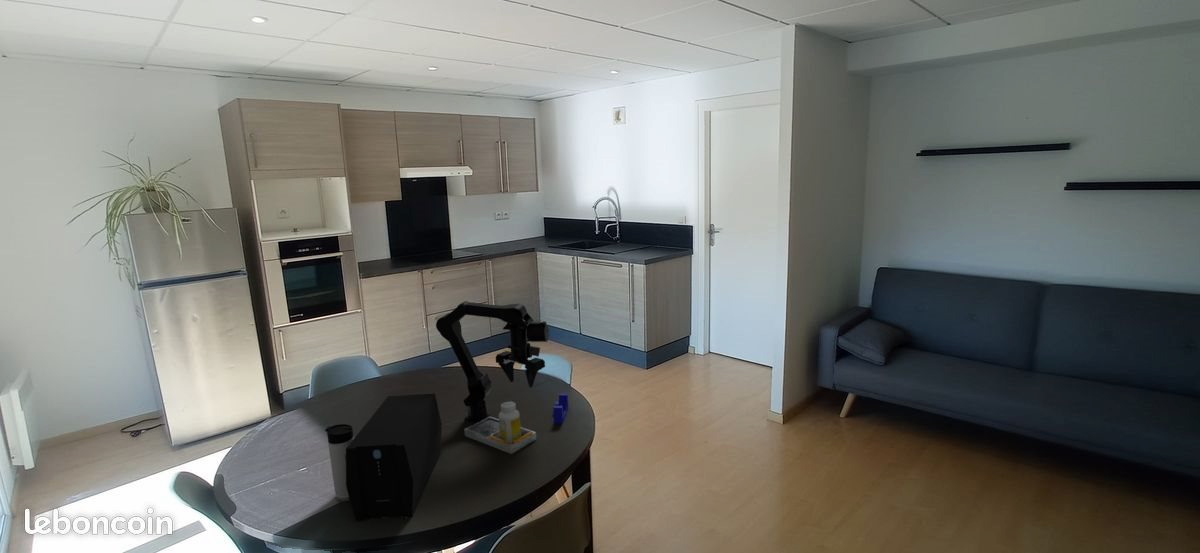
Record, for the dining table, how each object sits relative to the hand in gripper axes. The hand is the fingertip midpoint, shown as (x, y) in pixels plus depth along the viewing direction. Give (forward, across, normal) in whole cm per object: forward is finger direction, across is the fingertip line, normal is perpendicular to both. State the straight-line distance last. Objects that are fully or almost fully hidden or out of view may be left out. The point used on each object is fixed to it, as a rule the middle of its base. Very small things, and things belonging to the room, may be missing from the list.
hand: (521, 384), depth 188 cm
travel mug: (+13, +8, +60) cm, 62 cm away
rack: (+13, -3, +14) cm, 19 cm away
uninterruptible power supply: (+13, +1, +48) cm, 49 cm away
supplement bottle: (+13, -8, +14) cm, 21 cm away
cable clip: (+13, -9, -9) cm, 18 cm away
